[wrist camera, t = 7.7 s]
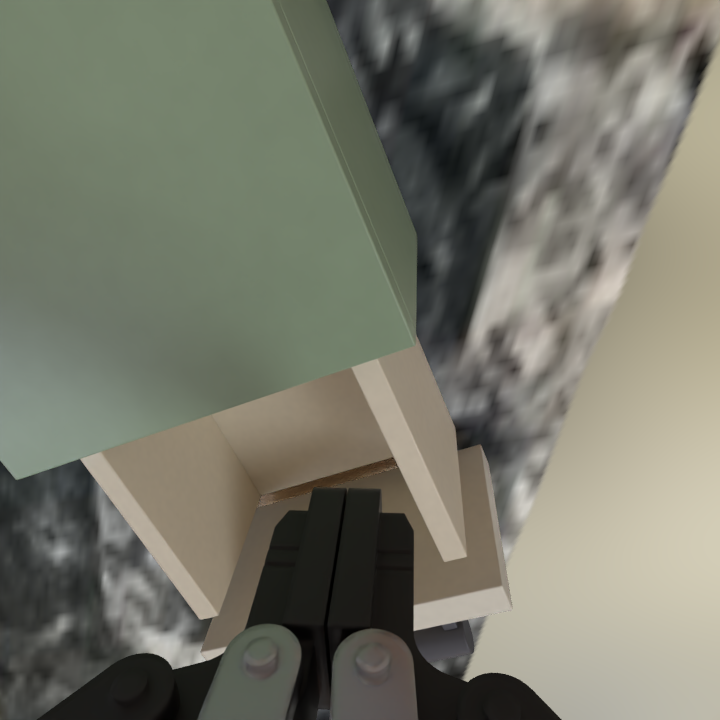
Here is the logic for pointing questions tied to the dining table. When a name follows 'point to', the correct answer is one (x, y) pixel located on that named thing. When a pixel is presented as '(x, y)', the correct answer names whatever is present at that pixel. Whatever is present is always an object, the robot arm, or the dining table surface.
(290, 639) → the robot arm
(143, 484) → the drawer
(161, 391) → the cabinet
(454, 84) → the dining table surface
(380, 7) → the dining table surface
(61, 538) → the dining table surface
